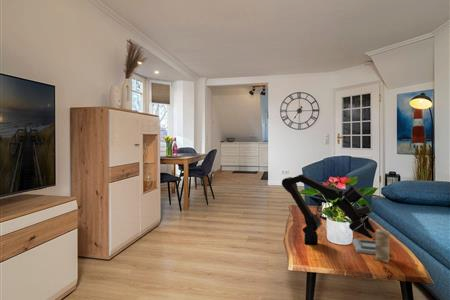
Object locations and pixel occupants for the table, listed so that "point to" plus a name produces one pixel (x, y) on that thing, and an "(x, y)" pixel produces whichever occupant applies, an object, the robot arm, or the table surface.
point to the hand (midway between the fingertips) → (373, 235)
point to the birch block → (382, 245)
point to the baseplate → (365, 246)
